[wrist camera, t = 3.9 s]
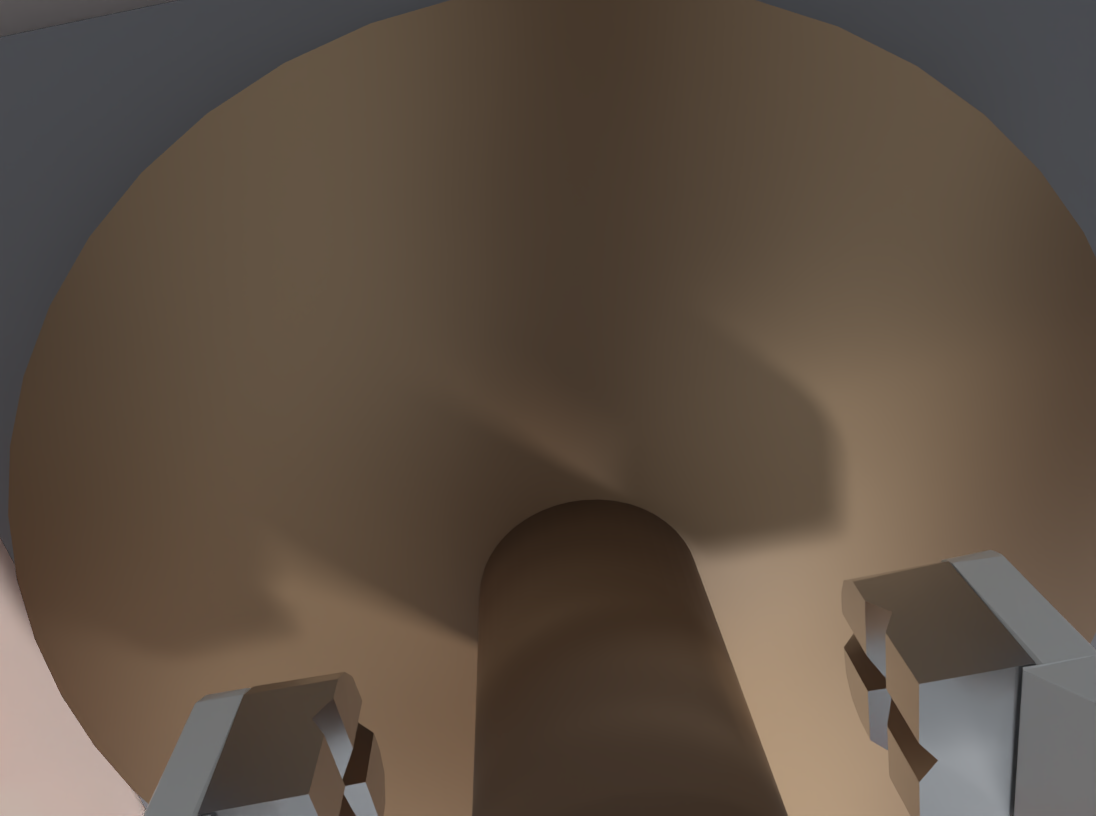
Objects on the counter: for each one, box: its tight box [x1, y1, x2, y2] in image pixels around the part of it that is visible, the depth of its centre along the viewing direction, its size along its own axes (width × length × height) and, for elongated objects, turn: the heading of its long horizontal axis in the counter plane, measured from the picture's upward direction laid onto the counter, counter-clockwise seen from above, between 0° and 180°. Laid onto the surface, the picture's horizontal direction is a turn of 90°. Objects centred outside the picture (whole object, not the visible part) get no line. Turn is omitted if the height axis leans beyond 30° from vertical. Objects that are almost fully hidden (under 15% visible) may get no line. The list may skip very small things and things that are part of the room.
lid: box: [8, 0, 1096, 816], centre depth 9 cm, size 13×13×5 cm
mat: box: [0, 0, 1096, 809], centre depth 11 cm, size 14×14×1 cm
